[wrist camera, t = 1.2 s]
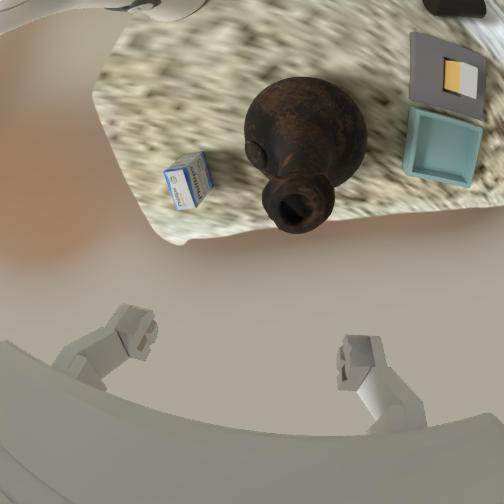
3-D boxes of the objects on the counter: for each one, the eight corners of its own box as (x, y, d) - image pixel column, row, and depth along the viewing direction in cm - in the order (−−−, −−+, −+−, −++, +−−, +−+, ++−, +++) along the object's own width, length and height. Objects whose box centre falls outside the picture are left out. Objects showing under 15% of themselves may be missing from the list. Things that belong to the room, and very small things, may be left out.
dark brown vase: (241, 89, 39) (146, 134, 18) (347, 66, 32) (391, 71, 12) (272, 180, 49) (226, 295, 28) (368, 166, 43) (403, 282, 22)
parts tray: (409, 105, 33) (416, 109, 31) (473, 123, 30) (483, 128, 28) (401, 167, 41) (406, 175, 38) (462, 179, 38) (469, 188, 35)
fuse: (441, 60, 26) (463, 62, 20) (454, 64, 25) (477, 68, 19) (440, 87, 29) (462, 94, 23) (453, 91, 28) (476, 99, 22)
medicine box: (214, 186, 53) (197, 209, 47) (194, 189, 54) (176, 211, 48) (203, 150, 48) (183, 168, 42) (183, 154, 50) (161, 172, 43)
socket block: (409, 32, 25) (414, 31, 23) (479, 56, 22) (486, 57, 20) (408, 98, 33) (413, 100, 31) (475, 117, 29) (482, 121, 28)
